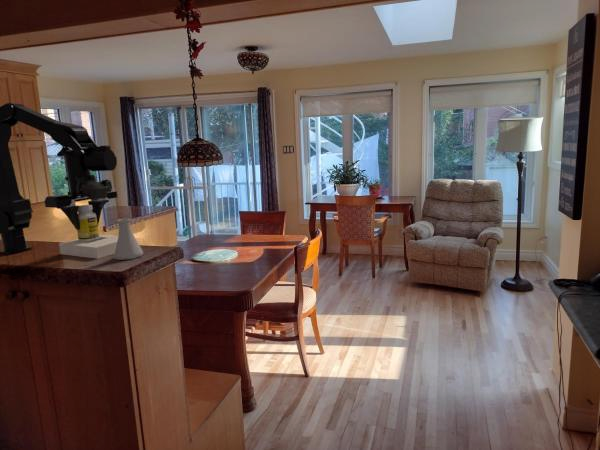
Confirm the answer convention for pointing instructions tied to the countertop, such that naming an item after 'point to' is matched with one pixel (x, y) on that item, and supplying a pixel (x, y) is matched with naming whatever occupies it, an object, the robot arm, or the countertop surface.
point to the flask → (126, 242)
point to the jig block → (90, 247)
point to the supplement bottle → (87, 224)
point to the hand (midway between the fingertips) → (87, 227)
